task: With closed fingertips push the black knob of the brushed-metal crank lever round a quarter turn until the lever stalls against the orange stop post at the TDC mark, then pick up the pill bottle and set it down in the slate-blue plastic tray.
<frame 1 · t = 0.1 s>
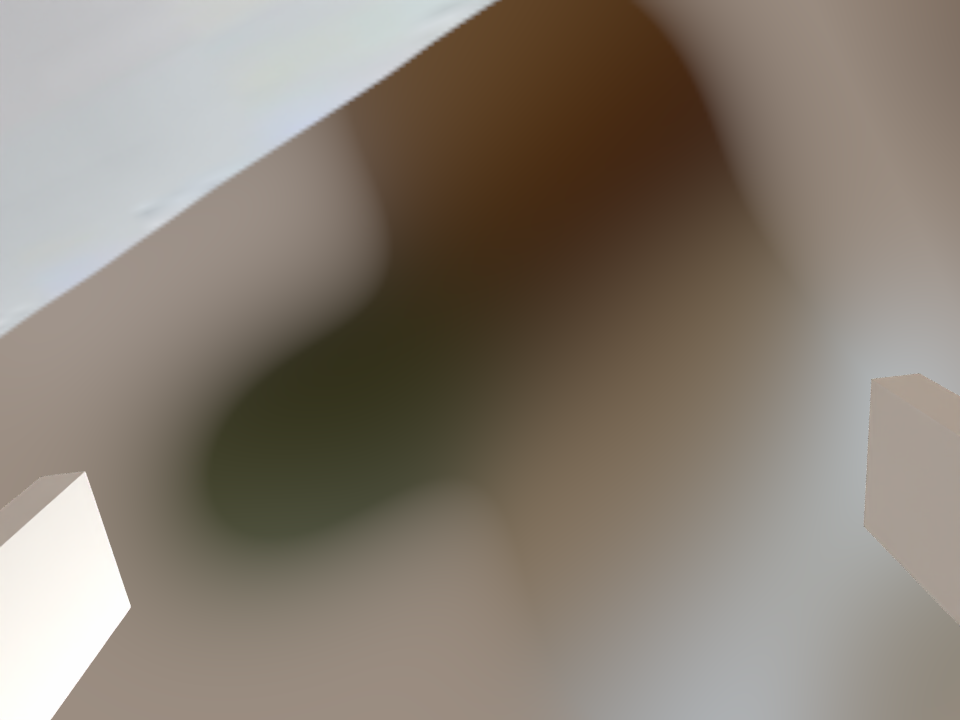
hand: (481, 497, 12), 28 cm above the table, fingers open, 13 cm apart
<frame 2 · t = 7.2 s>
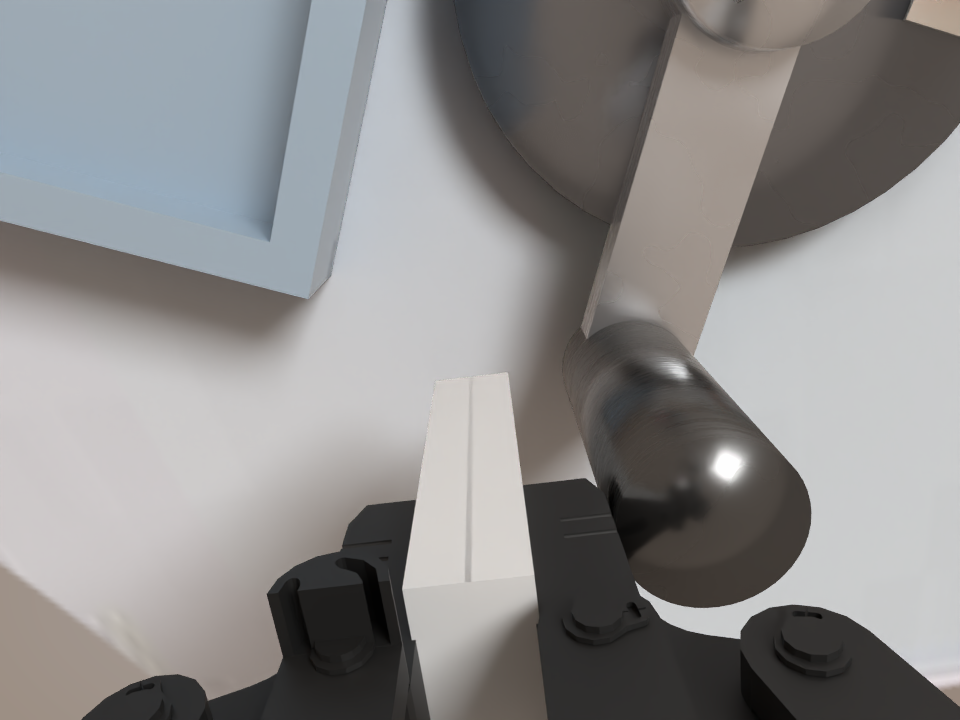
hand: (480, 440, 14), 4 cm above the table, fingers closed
crank: (741, 173, 12), point 5 cm above the table, hinge at -88.1°, touching gripper
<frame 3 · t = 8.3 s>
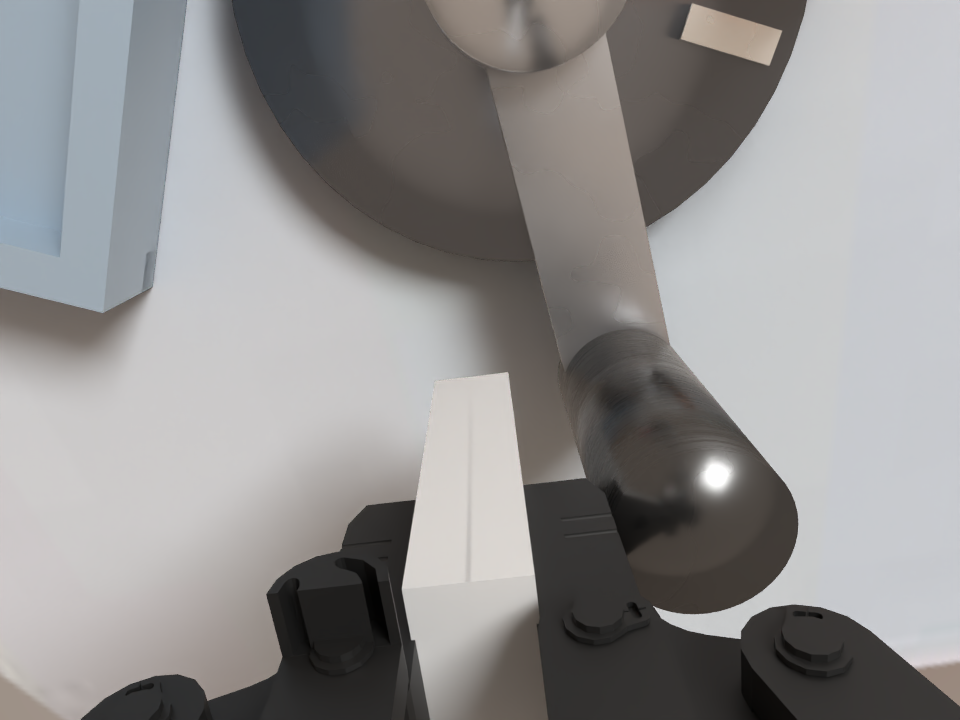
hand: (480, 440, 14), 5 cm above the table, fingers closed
crank: (594, 192, 12), point 5 cm above the table, hinge at -59.1°, touching gripper
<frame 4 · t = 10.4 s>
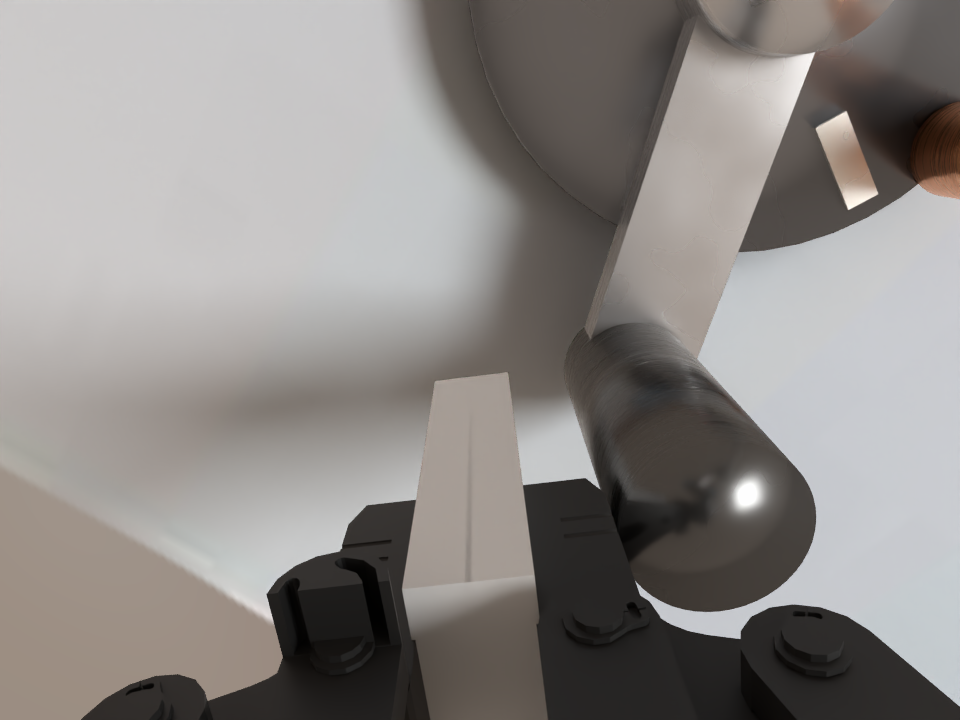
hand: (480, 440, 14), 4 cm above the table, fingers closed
crank: (754, 177, 12), point 5 cm above the table, hinge at -44.8°, touching gripper
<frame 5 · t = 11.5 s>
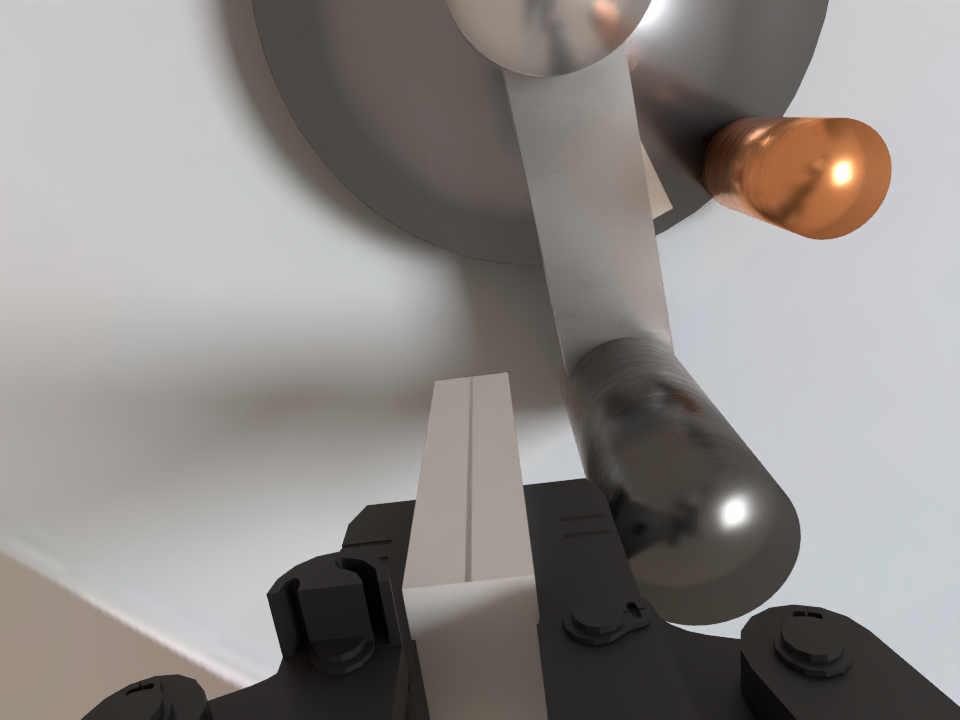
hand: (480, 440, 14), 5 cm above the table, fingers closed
crank: (608, 199, 12), point 5 cm above the table, hinge at -16.4°, touching gripper
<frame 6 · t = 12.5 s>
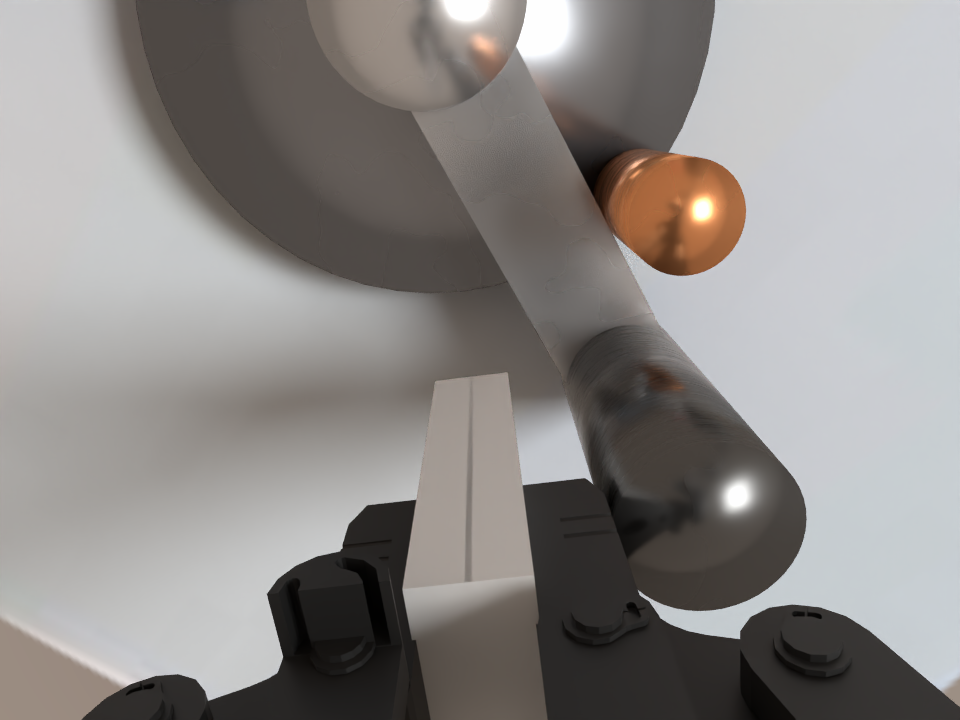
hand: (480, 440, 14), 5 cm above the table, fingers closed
crank: (534, 210, 12), point 5 cm above the table, hinge at 0.0°, touching crank base, gripper
crank base: (429, 18, 16), on the table
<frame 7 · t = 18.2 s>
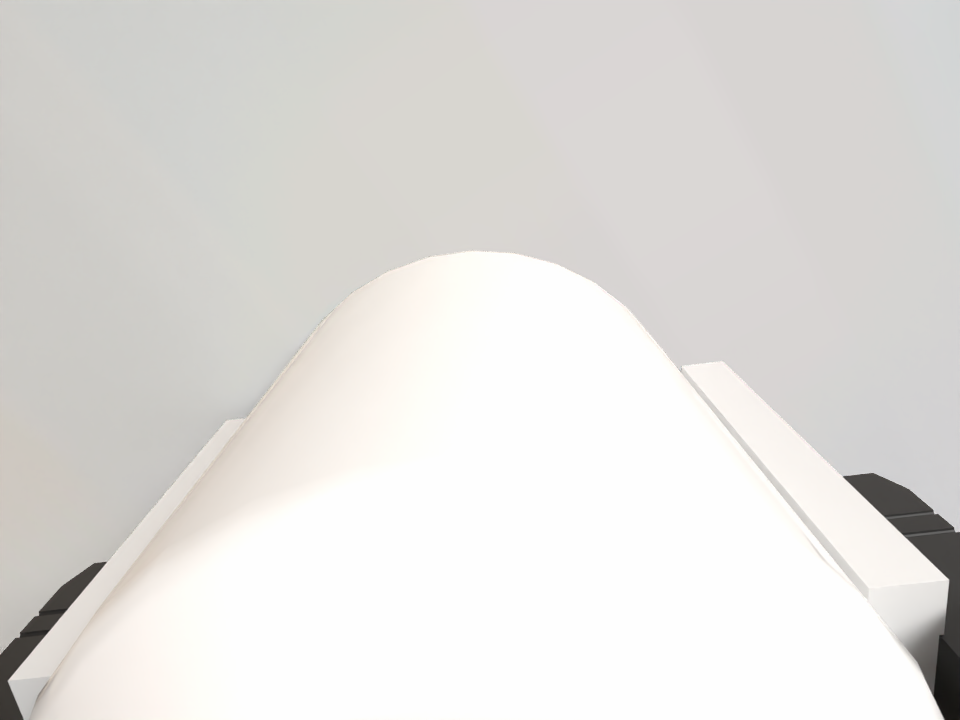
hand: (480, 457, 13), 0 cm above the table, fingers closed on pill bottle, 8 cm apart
pill bottle: (480, 445, 14), on the table, touching gripper
when the fingers open (3 cm above the table, at t = 23.5 s): pill bottle drops 2 cm, resting on tray.
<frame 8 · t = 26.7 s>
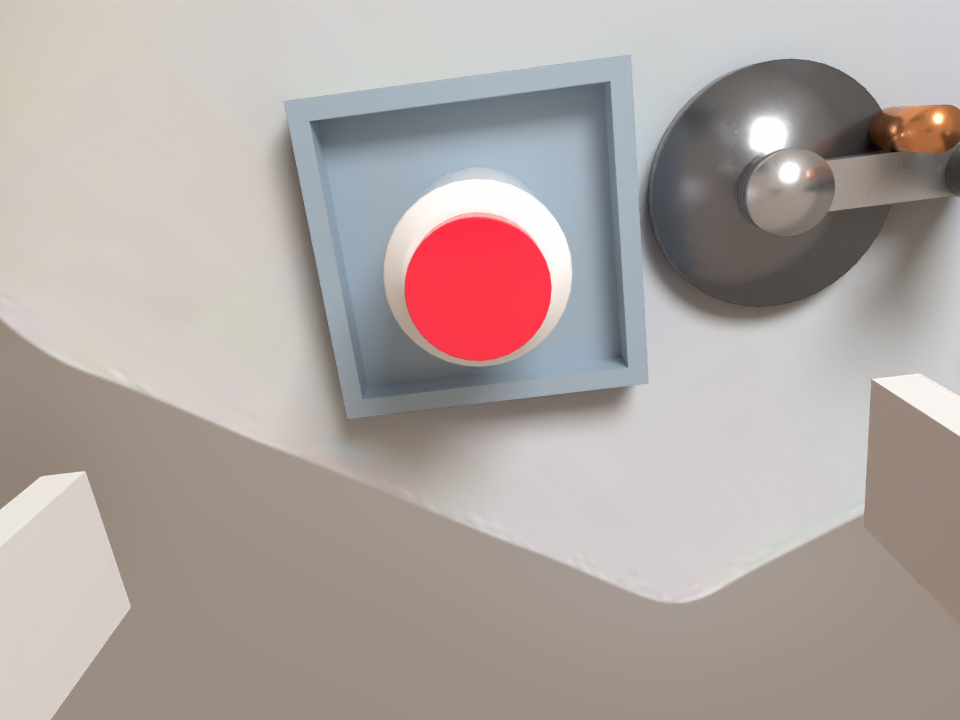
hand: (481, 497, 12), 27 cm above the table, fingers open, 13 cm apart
pill bottle: (477, 243, 37), resting on tray
tray: (477, 243, 37), on the table
crank: (903, 184, 32), point 5 cm above the table, hinge at 0.0°, touching crank base
crank base: (764, 187, 36), on the table
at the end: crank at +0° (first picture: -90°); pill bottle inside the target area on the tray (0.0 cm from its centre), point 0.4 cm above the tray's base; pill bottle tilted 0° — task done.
